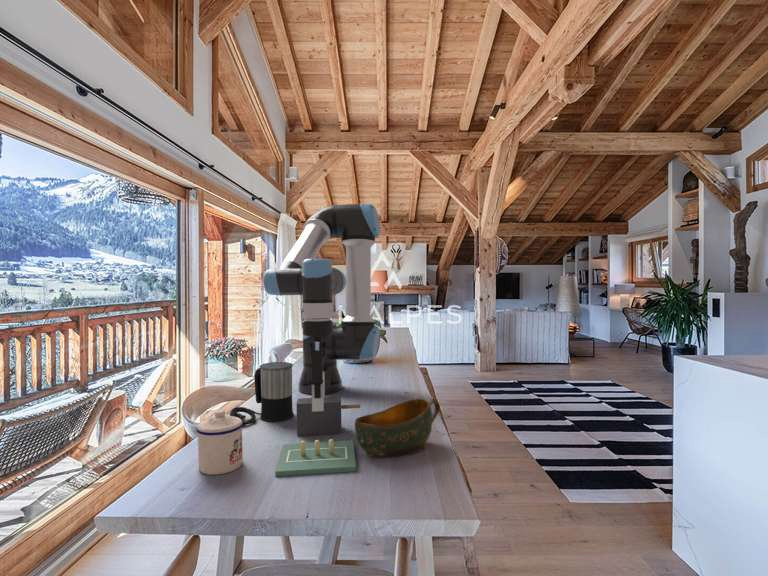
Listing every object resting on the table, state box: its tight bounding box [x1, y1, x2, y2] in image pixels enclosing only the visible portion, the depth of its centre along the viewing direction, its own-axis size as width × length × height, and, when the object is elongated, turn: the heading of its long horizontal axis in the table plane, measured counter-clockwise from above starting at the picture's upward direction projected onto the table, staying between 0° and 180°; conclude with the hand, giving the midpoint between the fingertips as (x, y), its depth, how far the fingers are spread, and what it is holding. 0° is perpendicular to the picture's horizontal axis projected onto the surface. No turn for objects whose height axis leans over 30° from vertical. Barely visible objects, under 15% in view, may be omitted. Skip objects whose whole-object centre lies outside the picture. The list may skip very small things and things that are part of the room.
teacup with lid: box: [196, 409, 244, 476], centre depth 92 cm, size 12×9×12 cm
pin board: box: [274, 438, 357, 477], centre depth 94 cm, size 14×16×4 cm
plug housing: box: [296, 396, 361, 437], centre depth 111 cm, size 5×16×8 cm, turn 97°
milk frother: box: [229, 361, 294, 426], centre depth 120 cm, size 14×16×15 cm
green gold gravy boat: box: [354, 398, 441, 459], centre depth 99 cm, size 13×20×10 cm, turn 92°
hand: (318, 403), depth 110 cm, fingers open, 13 cm apart
